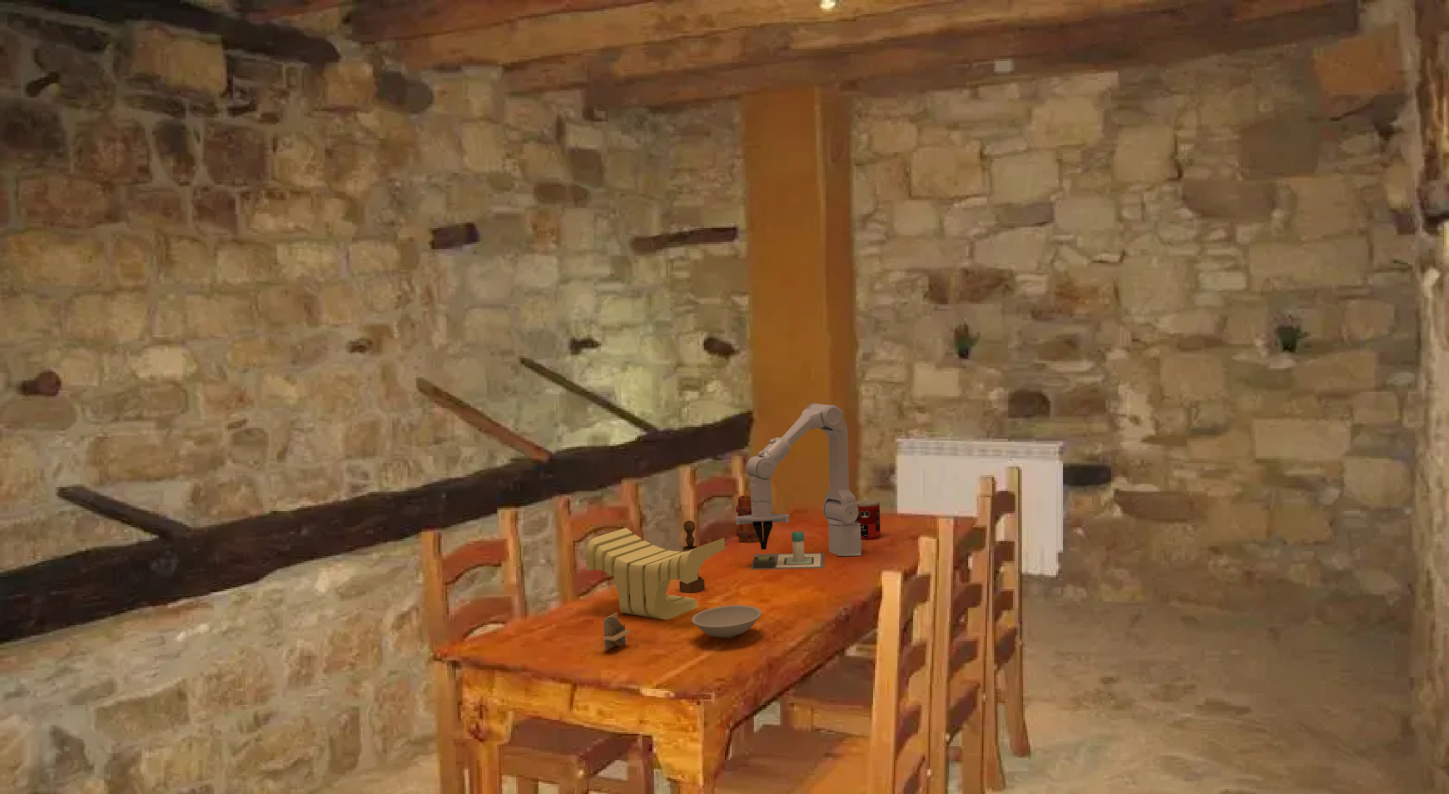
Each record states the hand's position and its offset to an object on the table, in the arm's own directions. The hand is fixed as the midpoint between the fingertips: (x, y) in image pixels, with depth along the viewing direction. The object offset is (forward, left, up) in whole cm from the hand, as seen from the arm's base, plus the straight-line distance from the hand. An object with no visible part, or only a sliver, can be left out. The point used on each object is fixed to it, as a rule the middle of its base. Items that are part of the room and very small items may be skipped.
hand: (763, 548), depth 316 cm
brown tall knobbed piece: (+18, +21, -6) cm, 28 cm away
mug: (+7, -36, -6) cm, 37 cm away
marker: (-9, -4, -5) cm, 11 cm away
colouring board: (-6, -5, -6) cm, 10 cm away
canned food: (-29, -37, -6) cm, 48 cm away
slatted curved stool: (+24, +41, -6) cm, 48 cm away
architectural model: (+29, +69, -6) cm, 75 cm away
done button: (0, 0, -4) cm, 4 cm away
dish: (+5, +63, -6) cm, 63 cm away
